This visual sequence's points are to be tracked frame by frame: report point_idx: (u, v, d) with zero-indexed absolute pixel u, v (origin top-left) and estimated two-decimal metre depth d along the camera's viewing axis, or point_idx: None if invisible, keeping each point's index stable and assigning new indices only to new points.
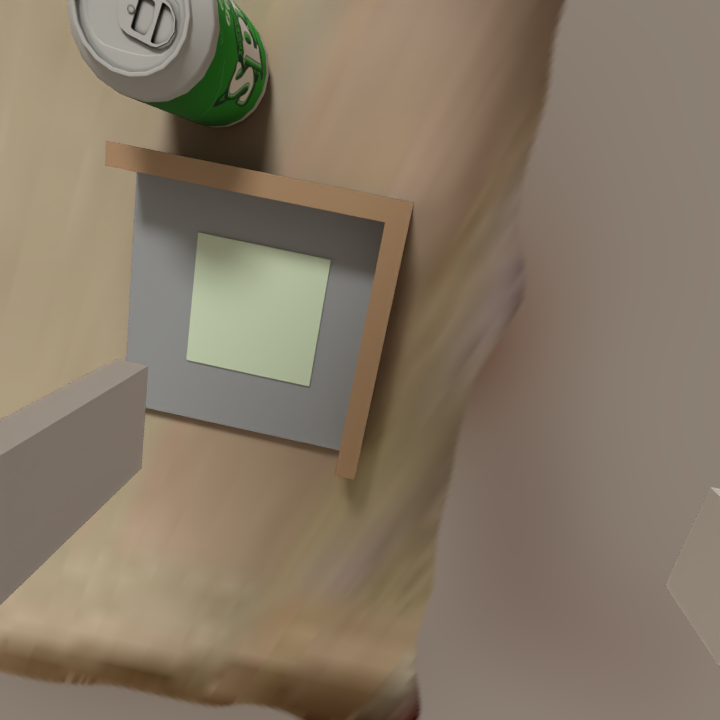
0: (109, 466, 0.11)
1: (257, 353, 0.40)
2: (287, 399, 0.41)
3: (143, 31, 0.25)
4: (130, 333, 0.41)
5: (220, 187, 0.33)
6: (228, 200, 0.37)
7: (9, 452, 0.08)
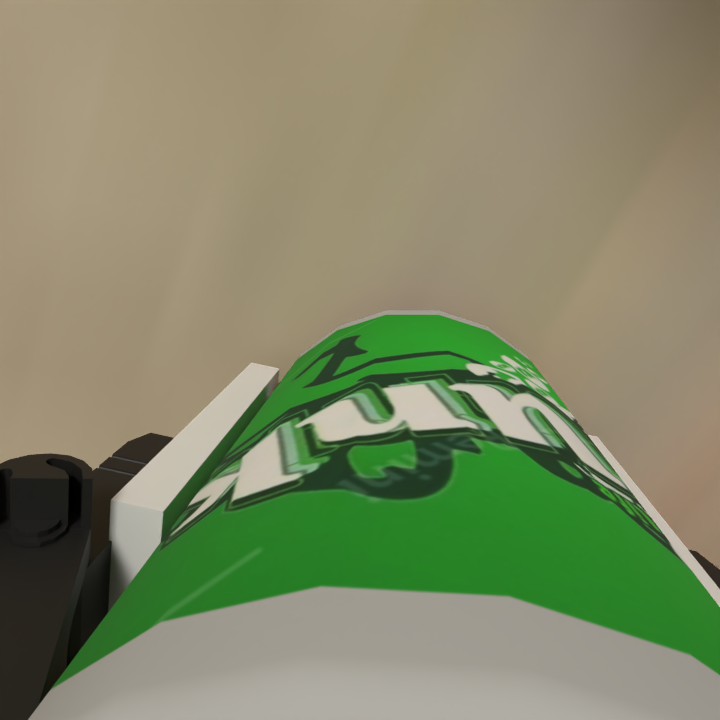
0: None
1: None
2: None
3: None
4: None
5: None
6: None
7: (219, 442, 0.09)
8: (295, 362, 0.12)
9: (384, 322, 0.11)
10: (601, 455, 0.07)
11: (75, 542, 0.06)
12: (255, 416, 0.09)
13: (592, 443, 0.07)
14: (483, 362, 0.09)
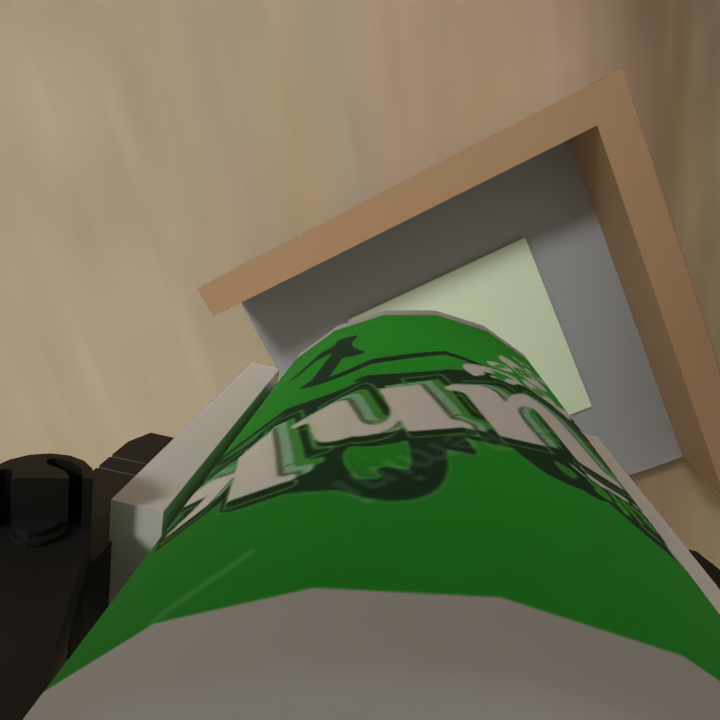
0: None
1: None
2: None
3: None
4: None
5: (356, 243, 0.23)
6: (358, 259, 0.27)
7: (219, 442, 0.09)
8: (293, 363, 0.12)
9: (382, 322, 0.11)
10: (598, 455, 0.07)
11: (75, 542, 0.06)
12: (252, 417, 0.09)
13: (589, 443, 0.07)
14: (480, 362, 0.09)
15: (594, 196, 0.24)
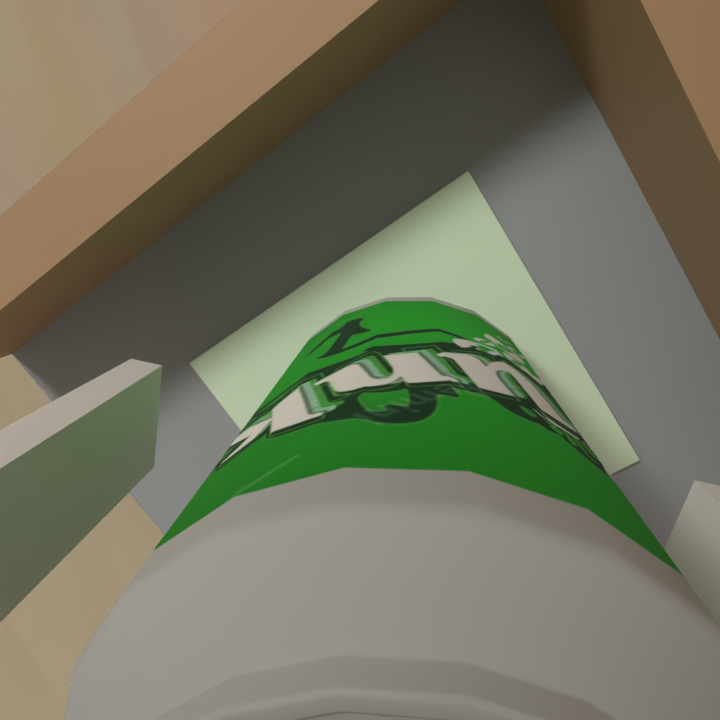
0: (124, 464, 0.11)
1: None
2: None
3: None
4: None
5: (106, 217, 0.11)
6: (184, 256, 0.15)
7: (33, 449, 0.08)
8: (306, 343, 0.13)
9: (384, 307, 0.12)
10: (561, 410, 0.09)
11: None
12: (276, 384, 0.10)
13: (555, 402, 0.09)
14: (468, 338, 0.10)
15: (587, 64, 0.12)
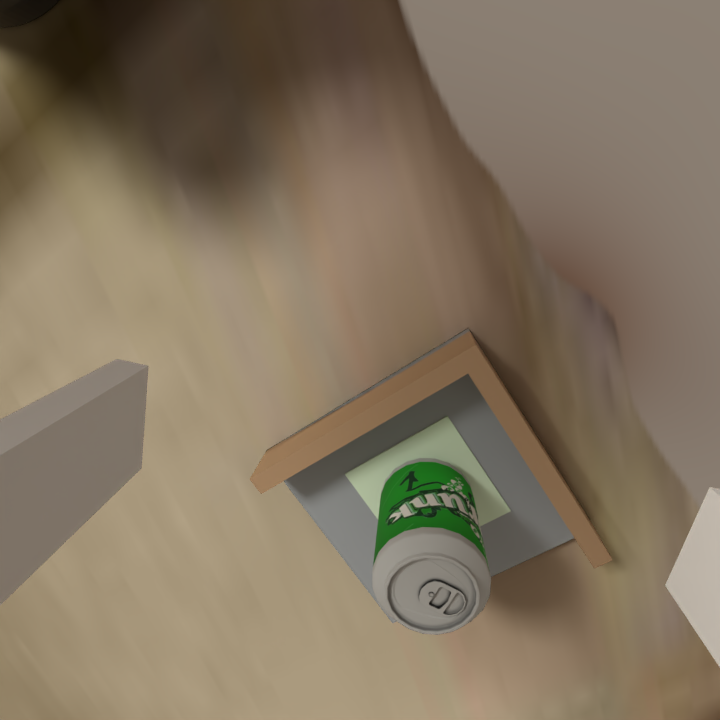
0: (109, 466, 0.11)
1: None
2: (503, 531, 0.43)
3: (436, 603, 0.32)
4: (357, 573, 0.46)
5: (340, 446, 0.38)
6: None
7: (9, 452, 0.08)
8: (394, 474, 0.40)
9: (420, 466, 0.40)
10: (467, 507, 0.36)
11: None
12: (392, 496, 0.37)
13: (466, 504, 0.36)
14: (445, 484, 0.37)
15: None
